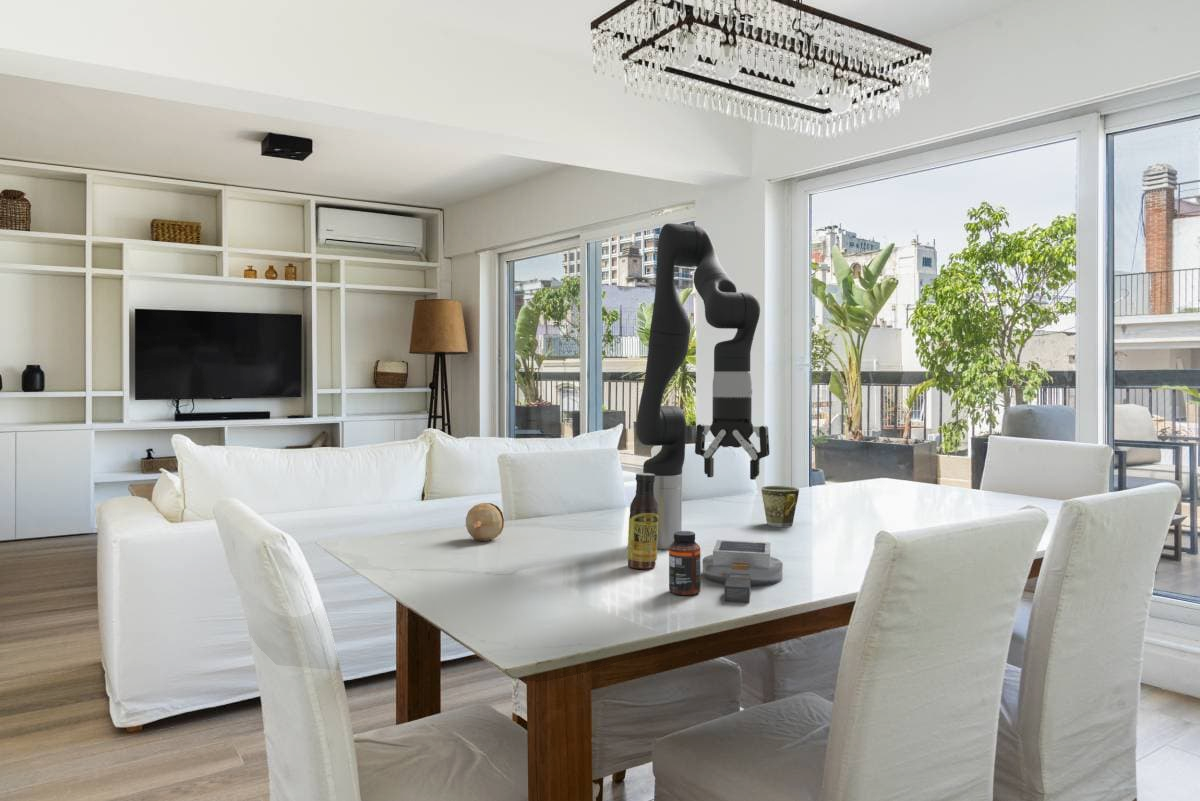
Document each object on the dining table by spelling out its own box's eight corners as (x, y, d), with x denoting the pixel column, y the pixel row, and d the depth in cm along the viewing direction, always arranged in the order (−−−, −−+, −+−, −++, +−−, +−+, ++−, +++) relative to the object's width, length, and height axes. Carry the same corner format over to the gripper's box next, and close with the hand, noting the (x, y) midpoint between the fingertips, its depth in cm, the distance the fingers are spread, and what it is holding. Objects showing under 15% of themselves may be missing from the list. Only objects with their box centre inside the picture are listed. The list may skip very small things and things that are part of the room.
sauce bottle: (632, 571, 173) (633, 476, 172) (623, 564, 179) (624, 472, 178) (662, 569, 174) (662, 475, 174) (652, 562, 180) (653, 471, 180)
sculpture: (510, 503, 210) (489, 497, 195) (513, 540, 207) (492, 536, 193) (476, 507, 211) (452, 501, 197) (478, 544, 209) (454, 541, 195)
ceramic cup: (754, 522, 229) (754, 486, 228) (786, 520, 232) (787, 485, 231) (778, 531, 216) (778, 493, 216) (811, 529, 219) (812, 491, 219)
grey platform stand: (692, 599, 152) (692, 566, 152) (706, 564, 179) (706, 537, 178) (782, 604, 148) (782, 571, 148) (782, 569, 175) (782, 540, 175)
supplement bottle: (697, 588, 160) (698, 529, 159) (702, 596, 154) (703, 535, 153) (666, 588, 160) (667, 529, 159) (670, 596, 154) (671, 535, 153)
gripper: (691, 395, 161) (690, 478, 162) (764, 395, 156) (763, 482, 156) (702, 394, 168) (702, 474, 169) (772, 395, 162) (772, 477, 163)
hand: (731, 478), depth 162 cm, fingers open, 8 cm apart
